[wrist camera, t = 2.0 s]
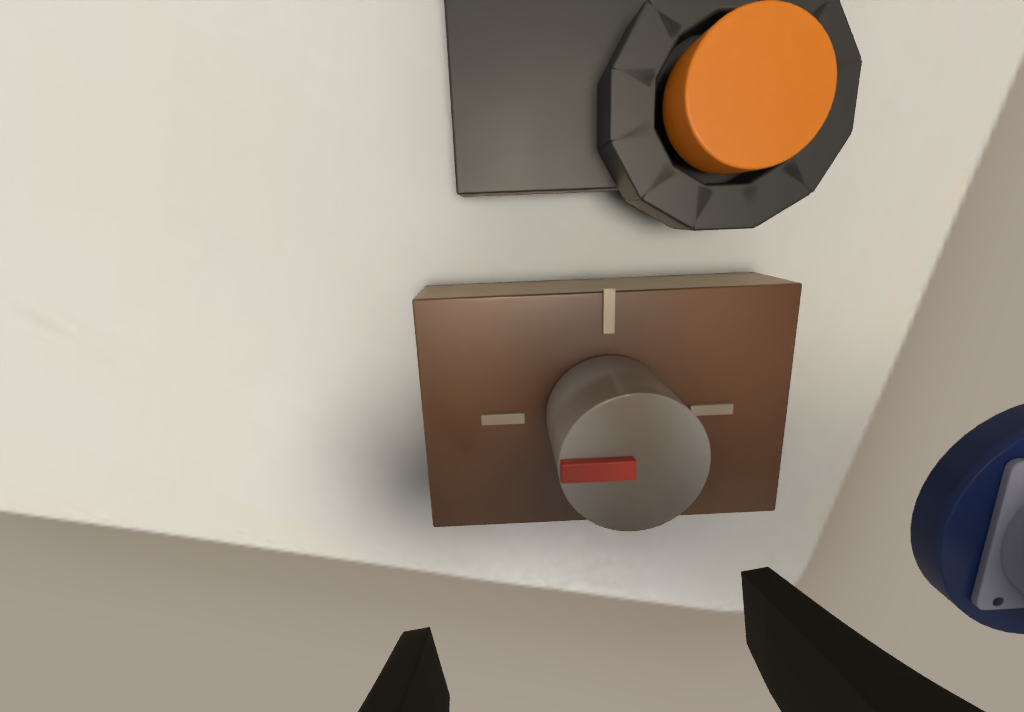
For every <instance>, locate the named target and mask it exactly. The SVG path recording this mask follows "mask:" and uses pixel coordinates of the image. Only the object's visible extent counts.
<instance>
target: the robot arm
mask: <svg viewBox="0 0 1024 712" xmlns="http://www.w3.org/2000/svg"><path fill="white" fill-rule="evenodd" d="M741 577H742V589H743V602H744V615H745V628H746V640H747V645H748V647H749V649H750V652H751V654H752V656H753V658H754V660H755V662H756V664H757V667H758V669H759V671H760V673H761V675H762V677H763V679H764V681H765V683H766V685H767V687H768V689H769V691H770V693H771V695H772V697H773V698H774V700H775V702H776V703H777V705H778V707H779V708H780V710H781V712H984V711H983V710H981V709H979V708H978V707H976V706H974V705H972V704H971V703H969V702H967V701H965V700H964V699H962V698H960V697H958V696H957V695H955V694H953V693H951V692H949V691H948V690H946V689H944V688H942V687H941V686H939V685H938V684H936V683H934V682H932V681H931V680H929V679H927V678H926V677H924V676H922V675H921V674H919V673H918V672H916V671H915V670H913V669H911V668H910V667H908V666H907V665H905V664H904V663H902V662H901V661H899V660H897V659H896V658H894V657H893V656H891V655H889V654H888V653H887V652H885V651H883V650H882V649H881V648H879V647H878V646H876V645H875V644H873V643H872V642H870V641H869V640H867V639H866V638H865V637H863V636H862V635H860V634H859V633H857V632H856V631H855V630H853V629H852V628H850V627H849V626H848V625H846V624H845V623H843V622H842V621H840V620H839V619H837V618H836V617H835V616H833V615H832V614H830V613H829V612H828V611H827V610H825V609H824V608H823V607H821V606H820V605H818V604H817V603H816V602H814V601H813V600H812V599H810V598H809V597H808V596H806V595H805V594H804V593H802V592H801V591H800V590H798V589H797V588H796V587H794V586H793V585H792V584H790V583H789V582H788V581H787V580H785V579H784V578H783V577H781V576H780V575H779V574H777V573H776V572H774V571H773V570H772V569H770V568H769V567H764V568H759V569H753V570H748V571H742V572H741ZM971 601H972V603H973V604H974V605H975V606H976V607H978V608H979V609H981V610H994V609H1014V608H1024V458H1015V459H1012V460H1010V461H1009V462H1008V463H1007V464H1006V465H1005V467H1004V471H1003V475H1002V478H1001V482H1000V486H999V490H998V494H997V498H996V502H995V506H994V510H993V514H992V518H991V521H990V525H989V529H988V533H987V537H986V541H985V545H984V549H983V553H982V557H981V561H980V564H979V568H978V572H977V576H976V580H975V584H974V588H973V592H972V596H971ZM449 696H450V695H449V691H448V688H447V684H446V681H445V678H444V674H443V671H442V667H441V664H440V660H439V657H438V654H437V651H436V647H435V643H434V640H433V637H432V633H431V630H430V627H428V628H422V629H417V630H411V631H405V632H403V634H402V635H401V636H400V638H399V640H398V642H397V644H396V646H395V647H394V649H393V651H392V653H391V655H390V657H389V659H388V660H387V662H386V664H385V666H384V668H383V669H382V671H381V673H380V675H379V676H378V679H377V680H376V682H375V684H374V685H373V687H372V689H371V691H370V692H369V694H368V696H367V697H366V699H365V701H364V702H363V704H362V706H361V708H360V709H359V711H358V712H449V701H450V697H449Z"/></svg>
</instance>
